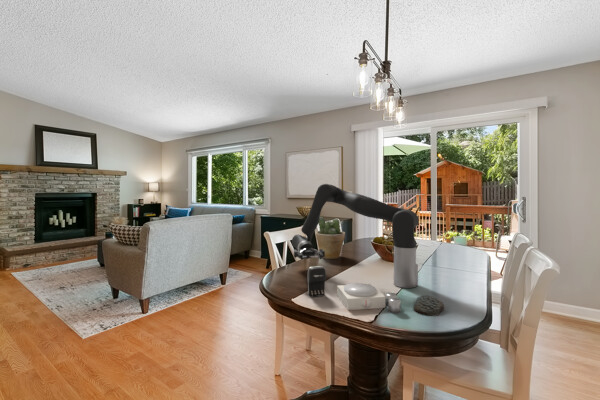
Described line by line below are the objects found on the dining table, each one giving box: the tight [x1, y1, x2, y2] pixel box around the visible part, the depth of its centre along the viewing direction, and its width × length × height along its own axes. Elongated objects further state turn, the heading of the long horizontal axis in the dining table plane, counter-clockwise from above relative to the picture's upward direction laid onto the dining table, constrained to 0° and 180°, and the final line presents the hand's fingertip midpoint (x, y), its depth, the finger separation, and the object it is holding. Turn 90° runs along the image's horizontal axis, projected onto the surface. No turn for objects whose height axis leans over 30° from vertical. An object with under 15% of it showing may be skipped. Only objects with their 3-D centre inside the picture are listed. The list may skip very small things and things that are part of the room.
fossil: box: [412, 294, 445, 317], centre depth 101 cm, size 10×13×4 cm
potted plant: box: [315, 216, 346, 260], centre depth 178 cm, size 18×19×25 cm
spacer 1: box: [384, 292, 398, 308], centre depth 103 cm, size 4×4×4 cm
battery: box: [307, 265, 327, 297], centre depth 113 cm, size 7×4×11 cm, turn 102°
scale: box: [336, 282, 386, 311], centre depth 107 cm, size 14×14×5 cm
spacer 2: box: [388, 297, 402, 315], centre depth 98 cm, size 4×4×4 cm
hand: (311, 257), depth 124 cm, fingers open, 8 cm apart
